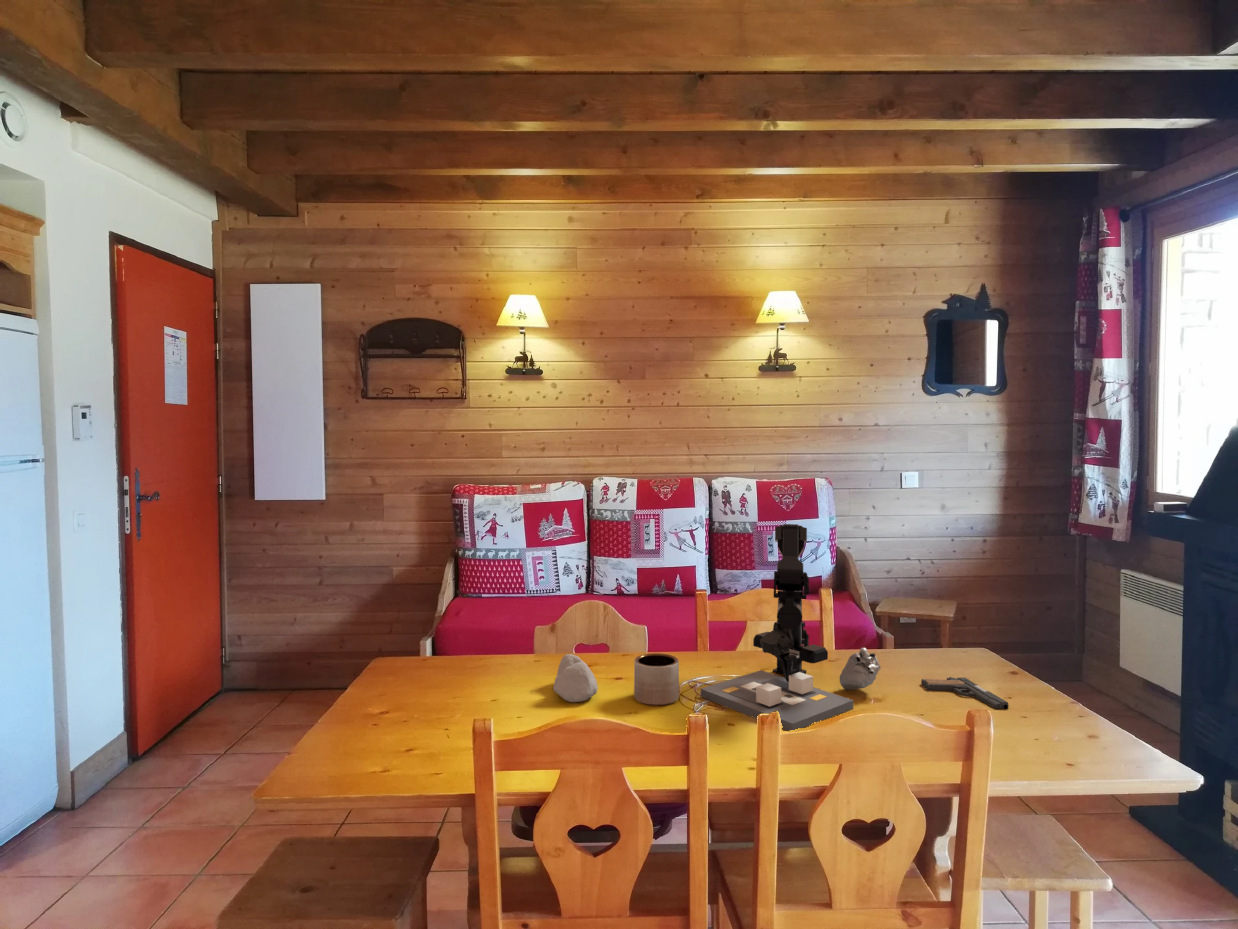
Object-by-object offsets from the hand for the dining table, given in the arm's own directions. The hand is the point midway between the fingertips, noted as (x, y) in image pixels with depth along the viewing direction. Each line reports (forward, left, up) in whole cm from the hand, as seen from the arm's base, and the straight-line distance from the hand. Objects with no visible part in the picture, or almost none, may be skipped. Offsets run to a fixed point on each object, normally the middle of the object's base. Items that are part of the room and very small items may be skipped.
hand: (789, 681), depth 191 cm
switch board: (+6, +1, -4) cm, 7 cm away
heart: (-16, +9, -4) cm, 19 cm away
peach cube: (0, +4, -1) cm, 4 cm away
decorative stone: (+39, -35, -4) cm, 53 cm away
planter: (+26, -19, -4) cm, 33 cm away
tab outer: (+12, +4, -1) cm, 13 cm away
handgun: (-33, +27, -4) cm, 42 cm away
